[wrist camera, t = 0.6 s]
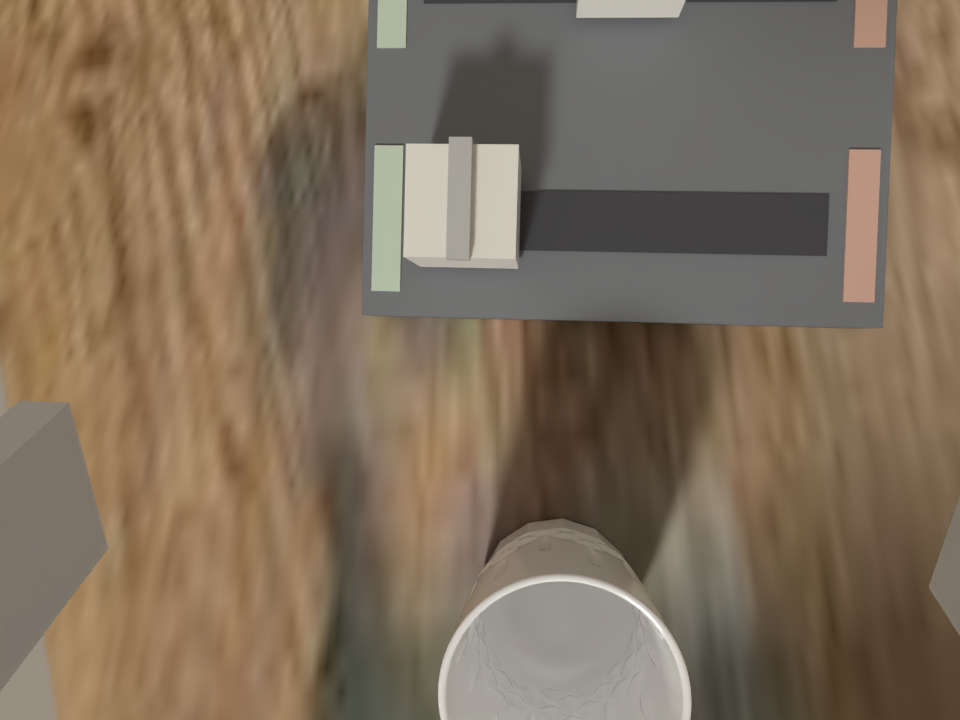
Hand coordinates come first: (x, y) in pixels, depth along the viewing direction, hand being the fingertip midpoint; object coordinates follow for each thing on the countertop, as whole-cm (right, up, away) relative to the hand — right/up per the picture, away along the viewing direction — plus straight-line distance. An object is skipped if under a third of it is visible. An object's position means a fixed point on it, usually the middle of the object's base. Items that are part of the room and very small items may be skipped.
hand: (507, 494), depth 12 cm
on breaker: (-1, +8, +20) cm, 21 cm away
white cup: (+3, -8, +23) cm, 24 cm away
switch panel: (+5, +13, +22) cm, 26 cm away
